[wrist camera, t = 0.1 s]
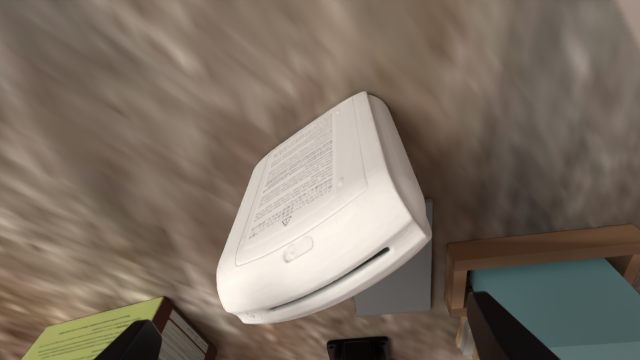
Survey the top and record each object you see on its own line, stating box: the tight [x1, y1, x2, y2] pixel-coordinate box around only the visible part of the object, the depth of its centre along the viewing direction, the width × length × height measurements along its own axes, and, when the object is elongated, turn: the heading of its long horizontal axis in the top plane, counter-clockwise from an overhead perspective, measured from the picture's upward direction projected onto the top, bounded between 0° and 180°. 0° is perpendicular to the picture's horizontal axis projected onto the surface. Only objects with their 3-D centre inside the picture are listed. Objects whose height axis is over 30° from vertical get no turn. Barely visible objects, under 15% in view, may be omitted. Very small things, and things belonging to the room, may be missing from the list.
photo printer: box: [217, 91, 432, 324], centre depth 17 cm, size 10×4×12 cm, turn 127°
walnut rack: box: [444, 224, 640, 317], centre depth 28 cm, size 7×14×2 cm, turn 99°
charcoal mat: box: [354, 198, 433, 317], centre depth 28 cm, size 13×7×1 cm, turn 10°
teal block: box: [469, 258, 640, 360], centre depth 25 cm, size 2×10×8 cm, turn 100°
